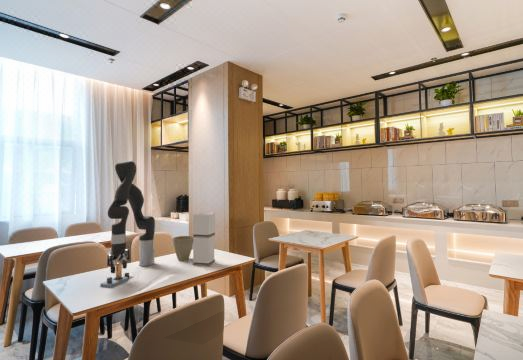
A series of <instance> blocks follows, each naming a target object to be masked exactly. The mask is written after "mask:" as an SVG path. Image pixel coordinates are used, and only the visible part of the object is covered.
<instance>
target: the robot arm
mask: <svg viewBox="0 0 523 360" xmlns="http://www.w3.org/2000/svg"><path fill="white" fill-rule="evenodd" d="M114 168H115V169H114V170H115V172H116V175H117V178H118V179H119V182H120V184H119V185H118V186H117V189H116V191H115V193H114V194H115V195H114V198H113V201H112V203H111V205H110V206H109V208H108V210H107V216H108V218H109V219H111V220H117V219H118V220H120V221H119V222H114V223H112V225H111V237H110V241H111V243H110V245H111V246H110V249H111V253H112V254H107V261H106V262H107V263H106V265H107V267H110V273H111V274H116V263H117V262H120V260H121V262H122V269H127V266H128V264H127V262H128V260H130V259H131V257H130V249H128V248H127V234H126V233H127V232H126V226H127V221H128V218H129V214H130V210H129V208H128V206H126V204H128V203H129V206H130V209H131V210H132V213H133V218H134V221H135V225H136V227H137V228H138V229H139V230H142V231H145V233H144V234H141V235H139V236H138V237H139V238H138V239H139V241H138V243H139V245H138V247H139V248H138V250H139V251H138V253H139V255H138V256H139V257H138V258H139V260H138V261H139V264H138V265H139V266H141V267H149V266H152V265H154V263H155V248H154V245H155V244H154V240H155V238H154V237H155V230H156V225H155V224H156V221H155V218H154V217H153V216H151V215H150V216H149V215H148V216H147V215H144V214H143V211H142V208H143V206H144V203H145V199H144V195H143V192H142V190H141V189H140V188H139V187H138V186H136V185H135V184H134V183H133V181H134V179H135V176H136V174H137V165H136V163H135V162H134V161H133V160H128V161H120V162H116V163H115V165H114Z"/></svg>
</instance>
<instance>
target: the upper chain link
mask: <svg viewBox="0 0 523 360" xmlns="http://www.w3.org/2000/svg"><path fill="white" fill-rule="evenodd" d="M127 281H128V277H123V276H122V279H121V280H116V276H115V277H112V276H109V277H106V280H105V281H104V282H101V283H100V287H102V288H103V287H104V288H114V287H116V286H118V285H120V284H123V283H124V282H127ZM122 282H123V283H122Z"/></svg>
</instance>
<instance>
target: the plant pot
mask: <svg viewBox="0 0 523 360" xmlns="http://www.w3.org/2000/svg"><path fill="white" fill-rule="evenodd" d="M172 242H173V248H174V252H175V255H176V258H177V260H178V261H181V262H182V261H188V260H189V258H190V255H191V253H192V251H193V235H192V236H190V235H179V236H175V237H172Z"/></svg>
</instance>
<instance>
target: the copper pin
mask: <svg viewBox="0 0 523 360" xmlns="http://www.w3.org/2000/svg"><path fill="white" fill-rule="evenodd" d="M122 262H123V261H118V262H117V263H116V265H115V277H116V280H121V279H122V277H123V275H122V274H123V273H122V272H123V271H122V269H123V268H122Z"/></svg>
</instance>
